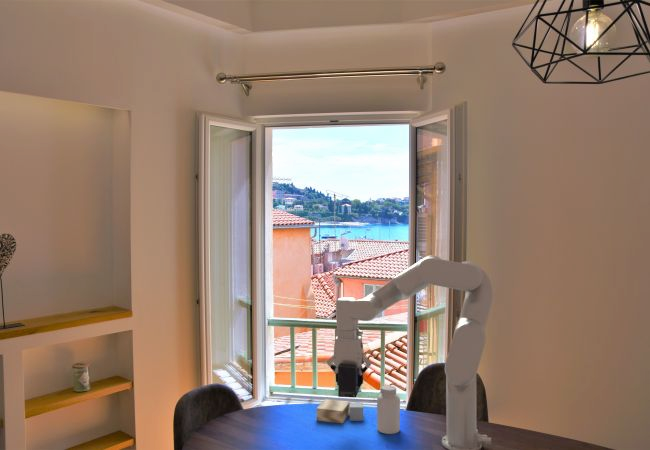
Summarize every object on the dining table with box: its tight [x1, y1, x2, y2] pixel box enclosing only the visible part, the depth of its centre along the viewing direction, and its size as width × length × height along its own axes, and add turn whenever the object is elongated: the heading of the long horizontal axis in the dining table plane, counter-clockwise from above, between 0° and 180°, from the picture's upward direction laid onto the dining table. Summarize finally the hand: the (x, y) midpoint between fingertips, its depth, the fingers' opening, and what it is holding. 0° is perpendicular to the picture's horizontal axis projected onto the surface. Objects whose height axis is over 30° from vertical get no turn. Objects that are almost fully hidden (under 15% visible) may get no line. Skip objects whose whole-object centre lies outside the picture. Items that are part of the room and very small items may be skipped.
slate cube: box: [349, 401, 364, 422], centre depth 191 cm, size 5×5×5 cm
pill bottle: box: [376, 384, 401, 435], centre depth 180 cm, size 8×8×15 cm
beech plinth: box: [316, 398, 350, 424], centre depth 192 cm, size 10×10×4 cm
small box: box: [337, 364, 361, 398], centre depth 178 cm, size 11×6×10 cm, turn 168°
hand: (349, 384), depth 178 cm, fingers closed on small box, 6 cm apart
